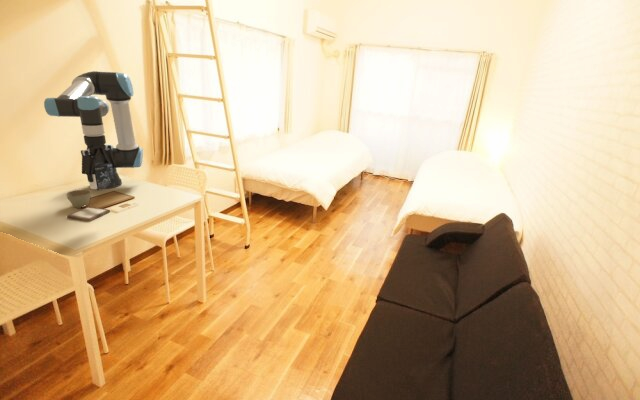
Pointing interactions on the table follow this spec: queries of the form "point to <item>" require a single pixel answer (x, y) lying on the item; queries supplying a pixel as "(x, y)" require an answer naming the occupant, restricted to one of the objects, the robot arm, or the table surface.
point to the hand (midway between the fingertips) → (102, 185)
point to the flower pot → (79, 197)
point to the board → (88, 214)
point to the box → (104, 176)
